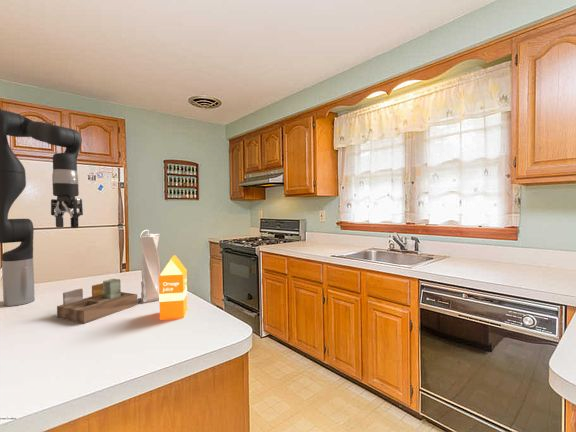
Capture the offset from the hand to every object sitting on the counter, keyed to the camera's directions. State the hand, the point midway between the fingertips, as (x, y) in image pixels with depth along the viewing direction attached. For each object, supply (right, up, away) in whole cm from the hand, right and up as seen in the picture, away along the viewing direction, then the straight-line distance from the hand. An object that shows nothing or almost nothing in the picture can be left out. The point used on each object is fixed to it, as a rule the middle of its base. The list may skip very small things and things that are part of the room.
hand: (67, 227), depth 109 cm
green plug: (+14, -30, +4) cm, 33 cm away
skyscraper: (+25, -30, +12) cm, 41 cm away
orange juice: (+41, -30, -6) cm, 51 cm away
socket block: (+13, -30, -1) cm, 33 cm away
